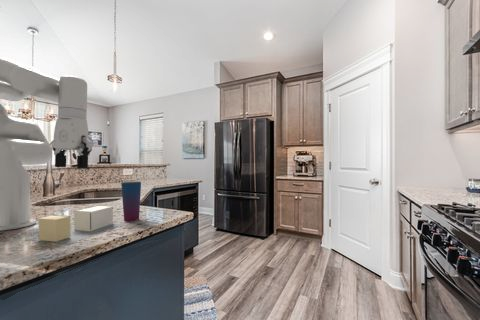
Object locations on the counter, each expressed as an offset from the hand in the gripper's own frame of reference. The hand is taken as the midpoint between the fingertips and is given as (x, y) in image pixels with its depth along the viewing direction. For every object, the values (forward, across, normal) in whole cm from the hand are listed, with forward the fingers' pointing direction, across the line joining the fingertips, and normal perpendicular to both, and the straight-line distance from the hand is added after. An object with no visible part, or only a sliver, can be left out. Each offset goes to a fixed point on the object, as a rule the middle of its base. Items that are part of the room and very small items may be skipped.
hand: (71, 167), depth 74 cm
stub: (+20, +6, -9) cm, 23 cm away
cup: (+21, +11, +15) cm, 28 cm away
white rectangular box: (+20, +6, +4) cm, 21 cm away
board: (+21, +6, -1) cm, 22 cm away
